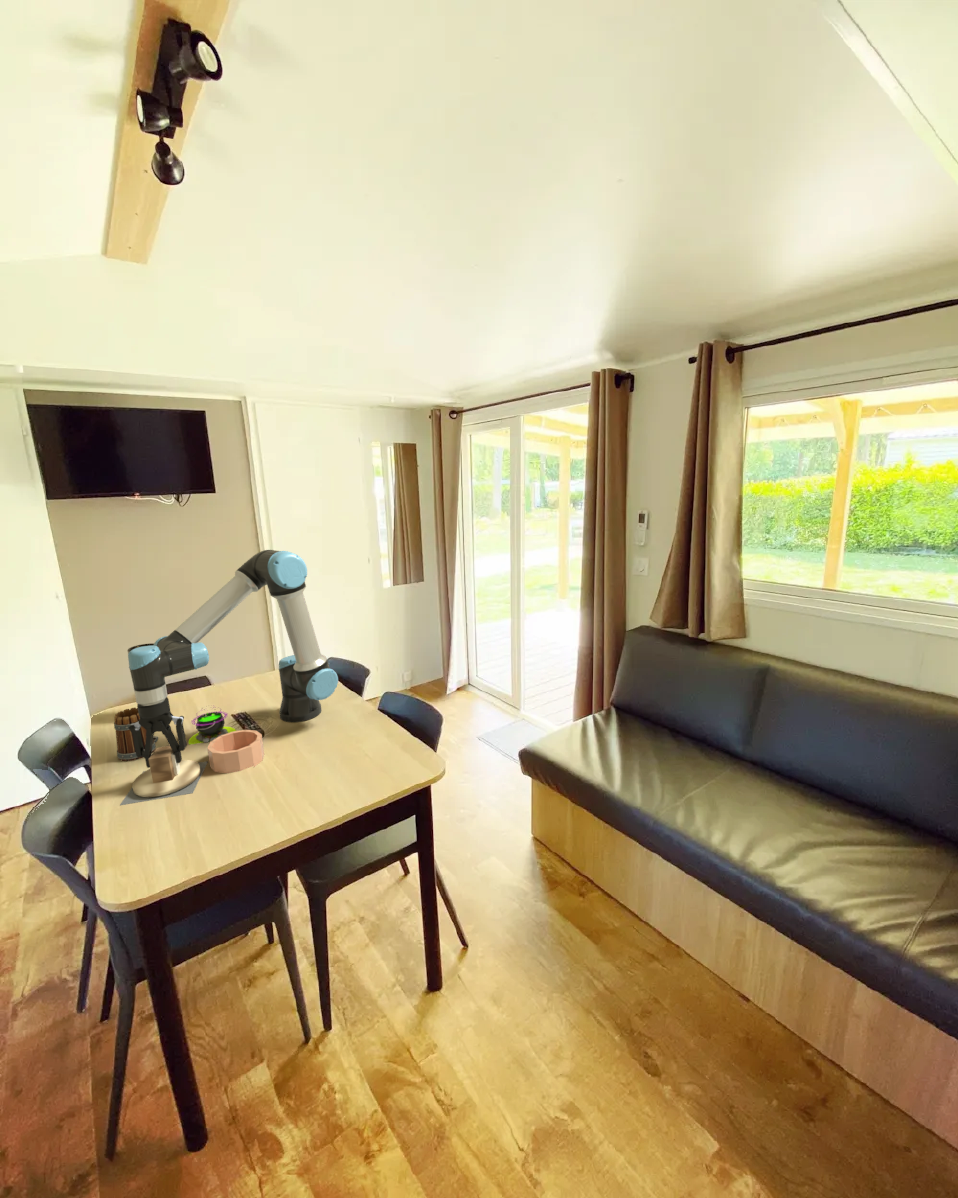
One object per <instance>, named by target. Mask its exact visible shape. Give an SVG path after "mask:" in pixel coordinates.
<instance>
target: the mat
mask: <svg viewBox="0 0 958 1198" xmlns="http://www.w3.org/2000/svg"><path fill="white" fill-rule="evenodd" d="M197 763H198V764H199V766H200V775H199V777H198V778H197V779H196V780H195V781H194V782H192V783H191V784H189V785H188V786H186V787H184V788H182V789H180V790H178V791H175V792H172V793H169V794H166V795H162V796H156V797H141V796H137V795H136V794H135V793H134V792H133V787H131V788H130V789H129V791H128V792H127V794H126V795H125V797H124V799H123V800H122V801H121V802H120V804H119V806H126V805H130V804H137V803H142V802H148V801H156V800H161V799H167V798H172V797H178V796H179V797H180V796H186V795H191V794H193V793H194V791H195V790H196V787H197V785H198V783H199V781H200V779H201V777H202V775H203V773H204V771H205V769H206V767H207V764H208V763H209V760H208V761H202V762H197ZM145 771H146V770H143V771H142V773H143V772H145Z"/></svg>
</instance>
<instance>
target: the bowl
mask: <svg viewBox="0 0 958 1198" xmlns="http://www.w3.org/2000/svg"><path fill="white" fill-rule="evenodd" d="M207 754H208V763H209V767H210V769H211V770H212V771H213V772H215V773H220V774H229V773H230V774H231V773H236V772H241V771H244V770H246V769H248V768H251V767H253V768H255V767H257V765H259V764H260V763H262V762H263V761H264V757H265V748H264V743H263V734H262V733H261V732H259V731H257V730H252V729H243V730H242V729H241V730H236V731H233V732H230V733H227V734H224V735H221V736H219V737H217V738H216V739H214V740H213V741H211V742H209V744H208V746H207Z"/></svg>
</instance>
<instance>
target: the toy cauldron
mask: <svg viewBox="0 0 958 1198" xmlns="http://www.w3.org/2000/svg"><path fill="white" fill-rule="evenodd" d="M209 706H210V705H208V707H209ZM203 708H204V707H201V709H200V712H202V711H203V710H204V711H206V708H205V709H203ZM214 708H215V709H214ZM216 708H217V706H213V707H212V709H214V711H211V712H206V713H202V714H200V715H198V712H197V713H196V714H195V715H197V716H196V717H194V718H192V720H191V722H190V723H191V724H192V725H194V726H195V730H197V731H198V732H197V733H195V734H193V735H191V737H190V738H189V739H188V742H187V744H188V745H189V746H190V745H195V744H203V743H206V744H207V743H210V742H211V741H213V740H214V739H216V738H217V737H219V736H221V735H224V734H227V733H230V732H233V731H237V730H236V729H235V728H234V727H231V726H225V718H227V717H228V714H229V713H228V712H225V711H222V708H219V709H220V710H218V711H216ZM223 715H224V716H223Z"/></svg>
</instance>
